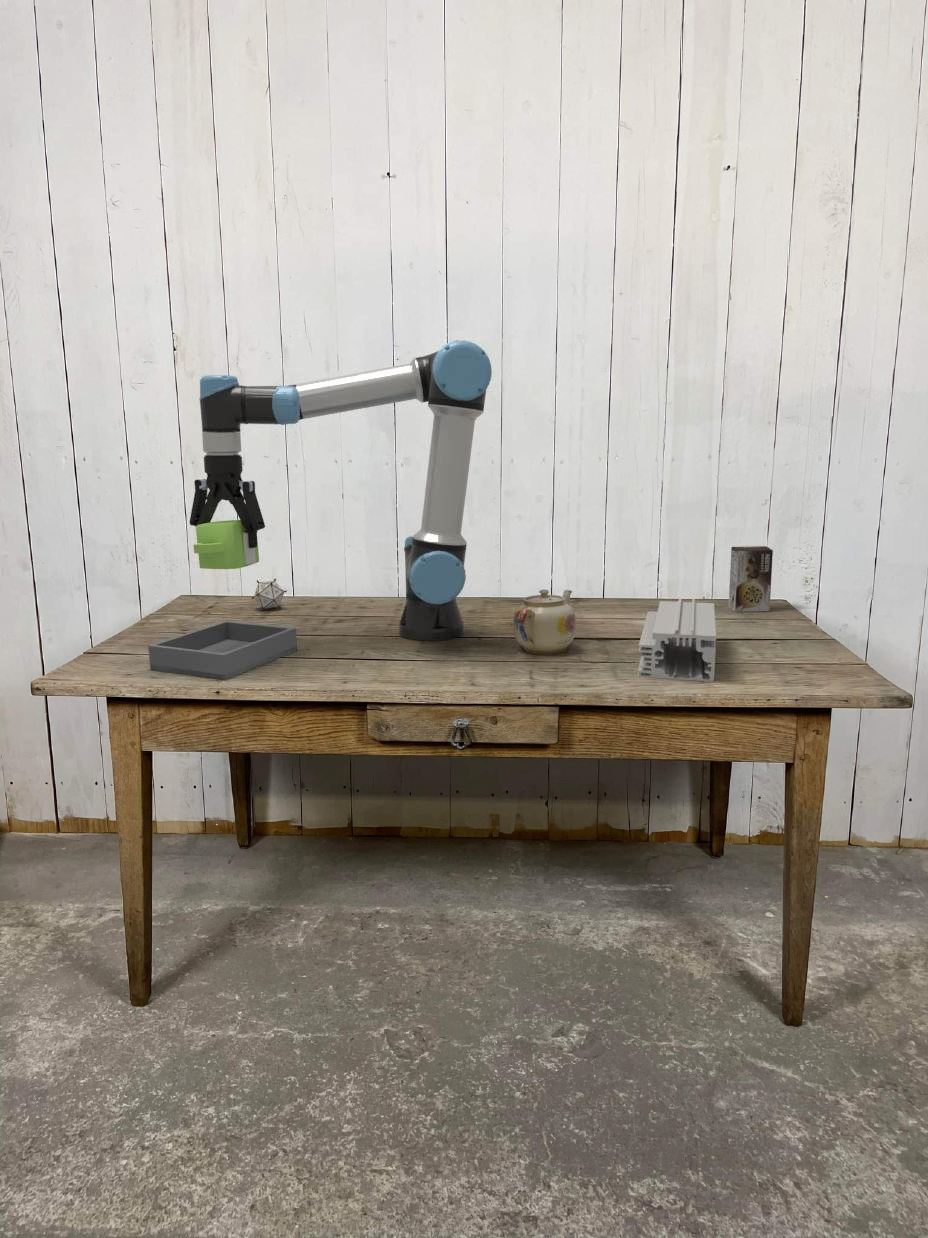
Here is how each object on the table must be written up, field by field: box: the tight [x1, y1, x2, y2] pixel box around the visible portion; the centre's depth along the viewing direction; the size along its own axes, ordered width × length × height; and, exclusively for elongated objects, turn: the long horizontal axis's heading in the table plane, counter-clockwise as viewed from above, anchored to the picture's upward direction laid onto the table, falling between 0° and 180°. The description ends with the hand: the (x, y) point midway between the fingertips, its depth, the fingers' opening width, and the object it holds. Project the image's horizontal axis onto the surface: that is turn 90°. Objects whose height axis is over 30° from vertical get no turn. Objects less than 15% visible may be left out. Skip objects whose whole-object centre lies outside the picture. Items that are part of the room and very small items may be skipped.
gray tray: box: [147, 620, 298, 681], centre depth 184 cm, size 19×24×5 cm
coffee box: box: [728, 545, 774, 613], centre depth 226 cm, size 9×6×16 cm
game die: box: [250, 577, 288, 612], centre depth 233 cm, size 9×8×10 cm
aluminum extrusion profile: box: [637, 597, 717, 682], centre depth 182 cm, size 14×31×10 cm, turn 165°
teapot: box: [512, 589, 577, 656], centre depth 190 cm, size 20×14×13 cm
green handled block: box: [193, 519, 260, 570], centre depth 183 cm, size 18×10×10 cm, turn 168°
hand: (228, 561), depth 183 cm, fingers closed on green handled block, 10 cm apart
